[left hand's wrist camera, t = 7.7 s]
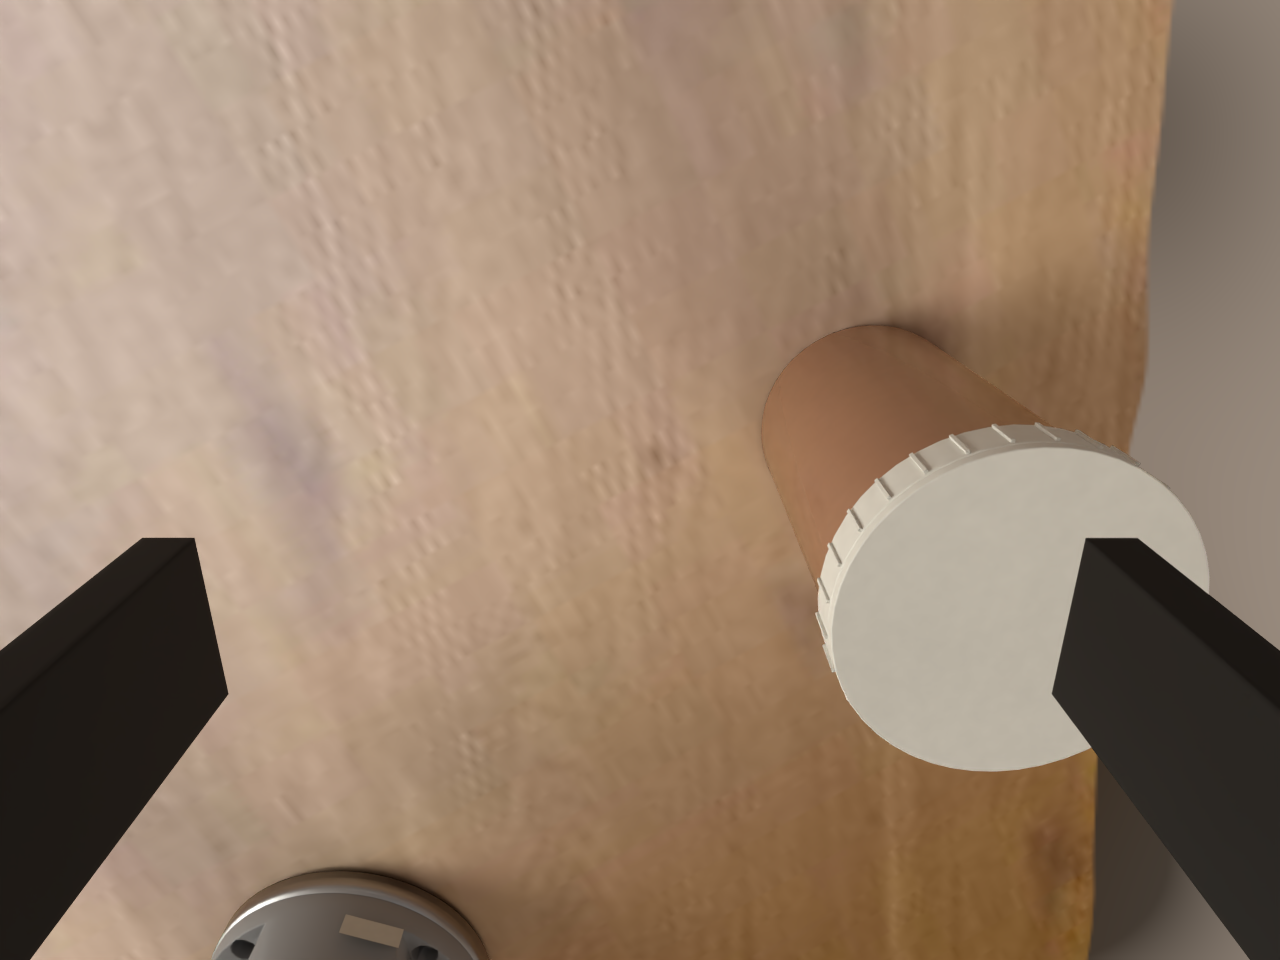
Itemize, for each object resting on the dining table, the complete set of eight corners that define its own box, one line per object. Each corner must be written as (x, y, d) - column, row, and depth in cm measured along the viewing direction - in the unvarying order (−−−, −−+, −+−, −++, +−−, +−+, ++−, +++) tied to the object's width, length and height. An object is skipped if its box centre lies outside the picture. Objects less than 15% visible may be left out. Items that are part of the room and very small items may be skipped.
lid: (1205, 414, 21) (1253, 437, 19) (1136, 727, 25) (1171, 768, 23) (822, 428, 21) (838, 452, 20) (809, 737, 25) (820, 779, 23)
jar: (977, 320, 34) (1219, 447, 20) (955, 516, 37) (1150, 745, 23) (762, 328, 34) (850, 461, 20) (759, 522, 38) (832, 755, 23)
